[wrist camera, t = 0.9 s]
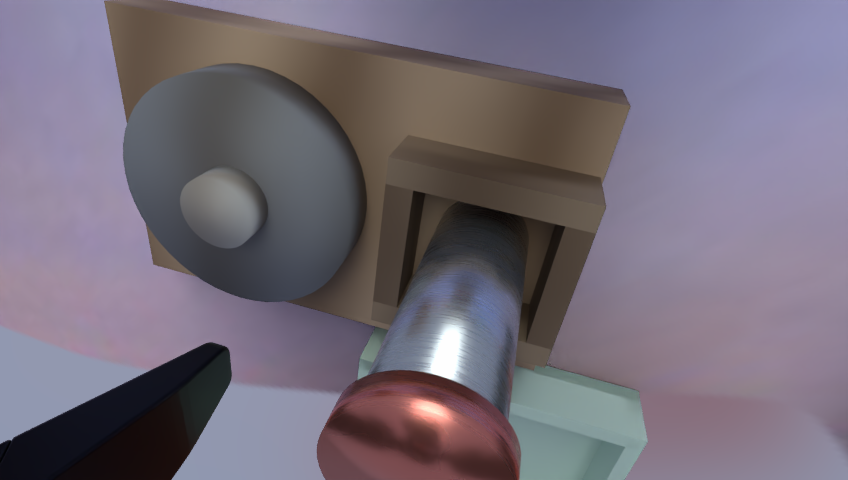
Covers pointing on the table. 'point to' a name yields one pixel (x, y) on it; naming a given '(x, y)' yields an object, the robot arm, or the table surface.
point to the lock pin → (441, 364)
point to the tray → (564, 422)
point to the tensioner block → (349, 160)
